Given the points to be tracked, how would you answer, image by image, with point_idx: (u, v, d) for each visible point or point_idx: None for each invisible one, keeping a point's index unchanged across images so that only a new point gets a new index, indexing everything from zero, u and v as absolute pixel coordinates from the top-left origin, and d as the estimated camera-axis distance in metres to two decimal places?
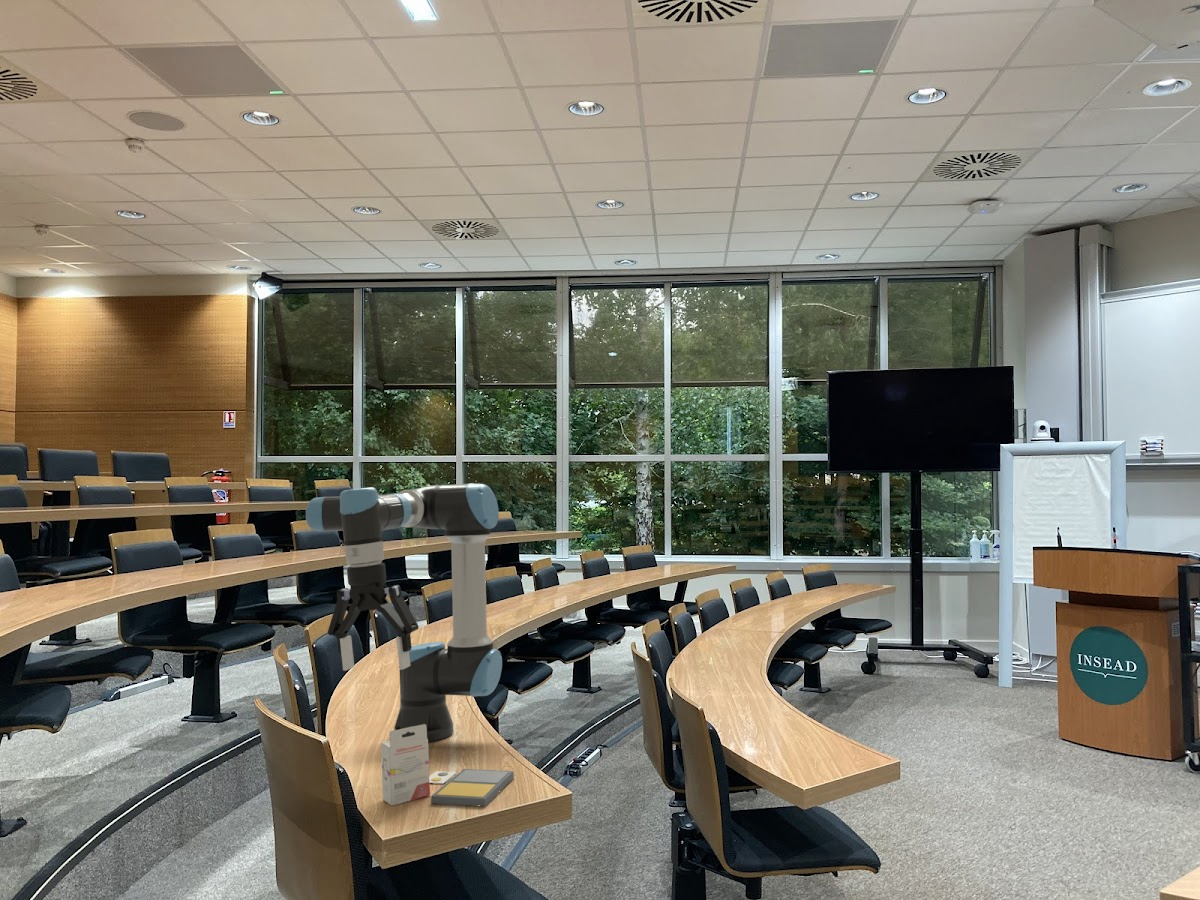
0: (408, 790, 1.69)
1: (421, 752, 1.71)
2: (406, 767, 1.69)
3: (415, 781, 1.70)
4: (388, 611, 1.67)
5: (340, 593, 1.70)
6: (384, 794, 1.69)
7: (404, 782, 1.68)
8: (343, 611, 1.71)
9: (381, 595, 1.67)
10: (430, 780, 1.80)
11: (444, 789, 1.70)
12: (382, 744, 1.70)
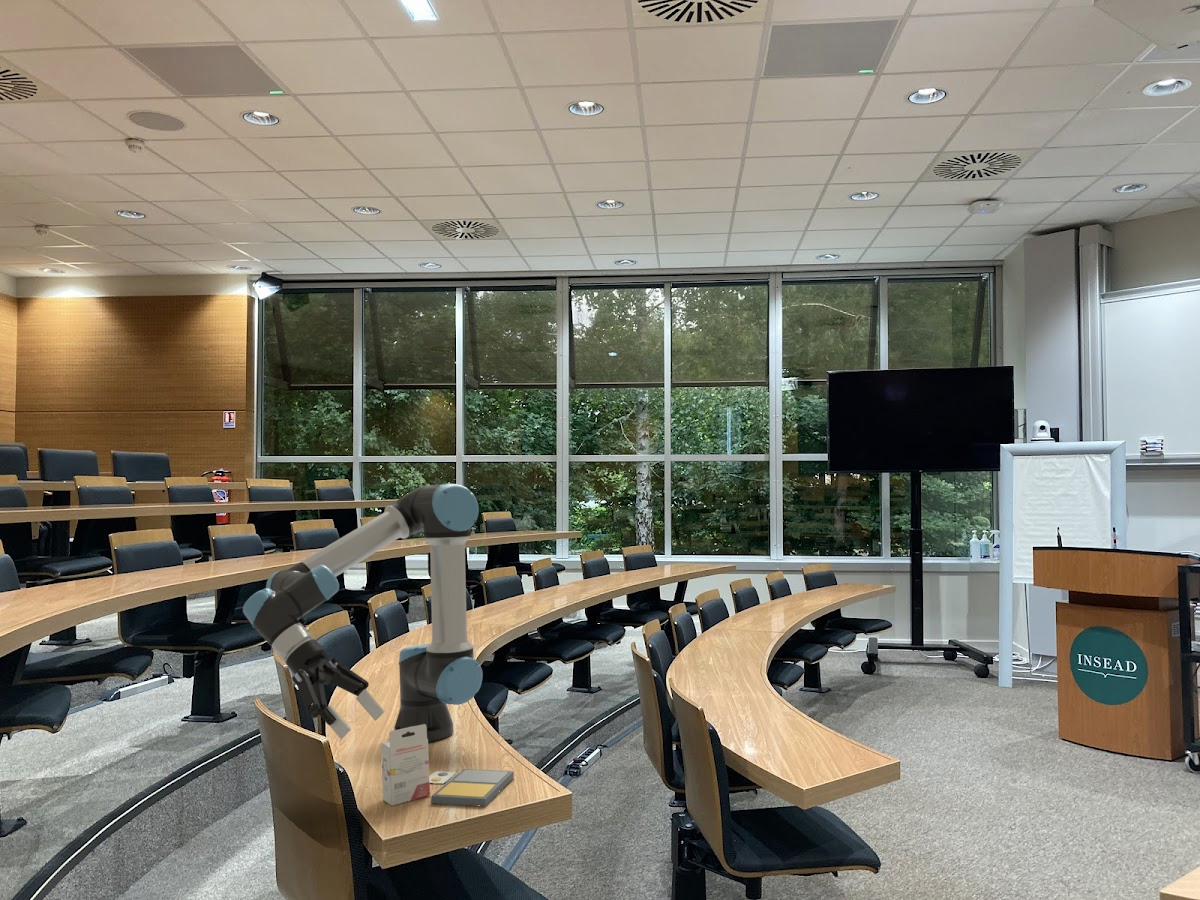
0: (408, 790, 1.69)
1: (421, 752, 1.71)
2: (406, 767, 1.69)
3: (415, 781, 1.70)
4: None
5: None
6: (384, 794, 1.69)
7: (404, 782, 1.68)
8: (345, 675, 1.82)
9: None
10: (430, 780, 1.80)
11: (444, 789, 1.70)
12: (382, 744, 1.70)
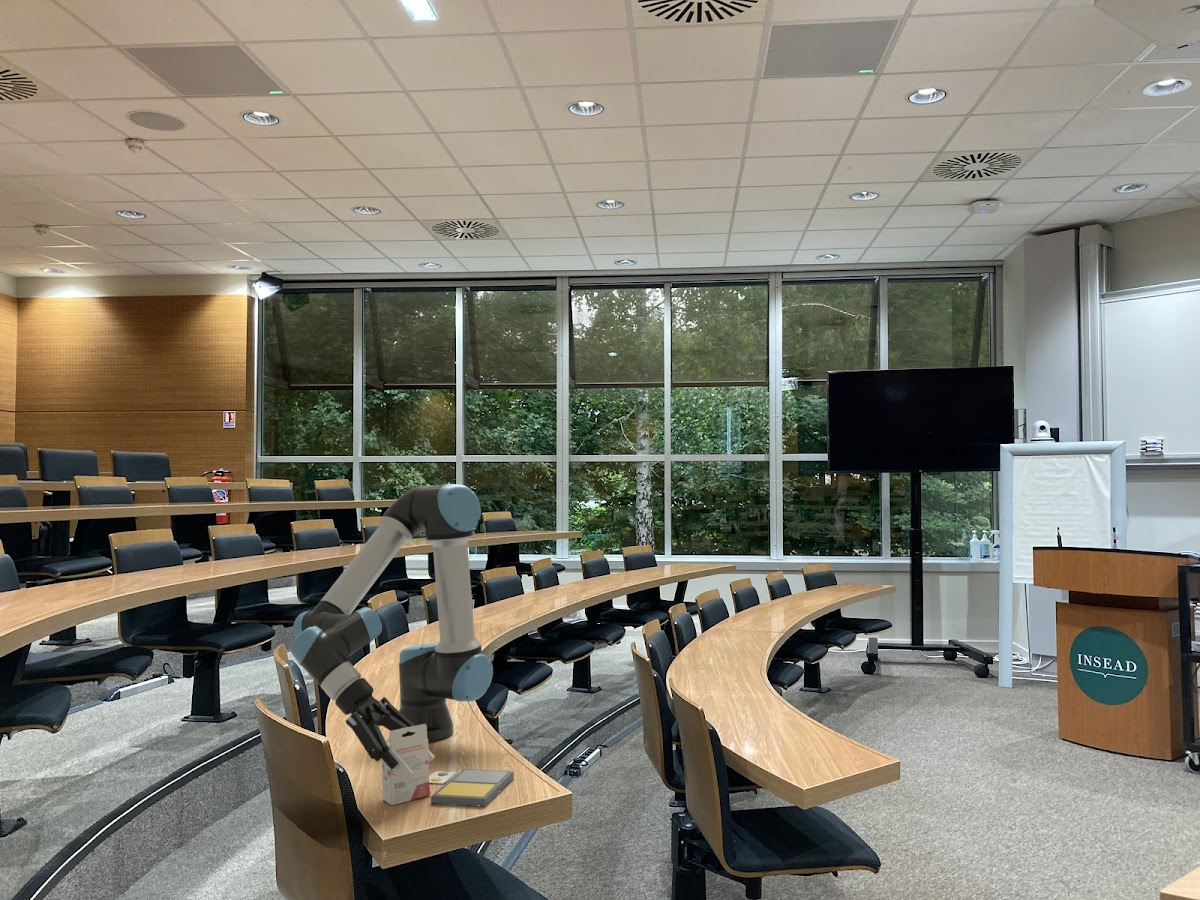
0: (409, 789, 1.69)
1: (421, 752, 1.71)
2: None
3: (415, 780, 1.70)
4: None
5: None
6: (384, 794, 1.69)
7: (404, 782, 1.68)
8: (394, 716, 1.79)
9: None
10: (430, 780, 1.80)
11: (444, 789, 1.70)
12: None
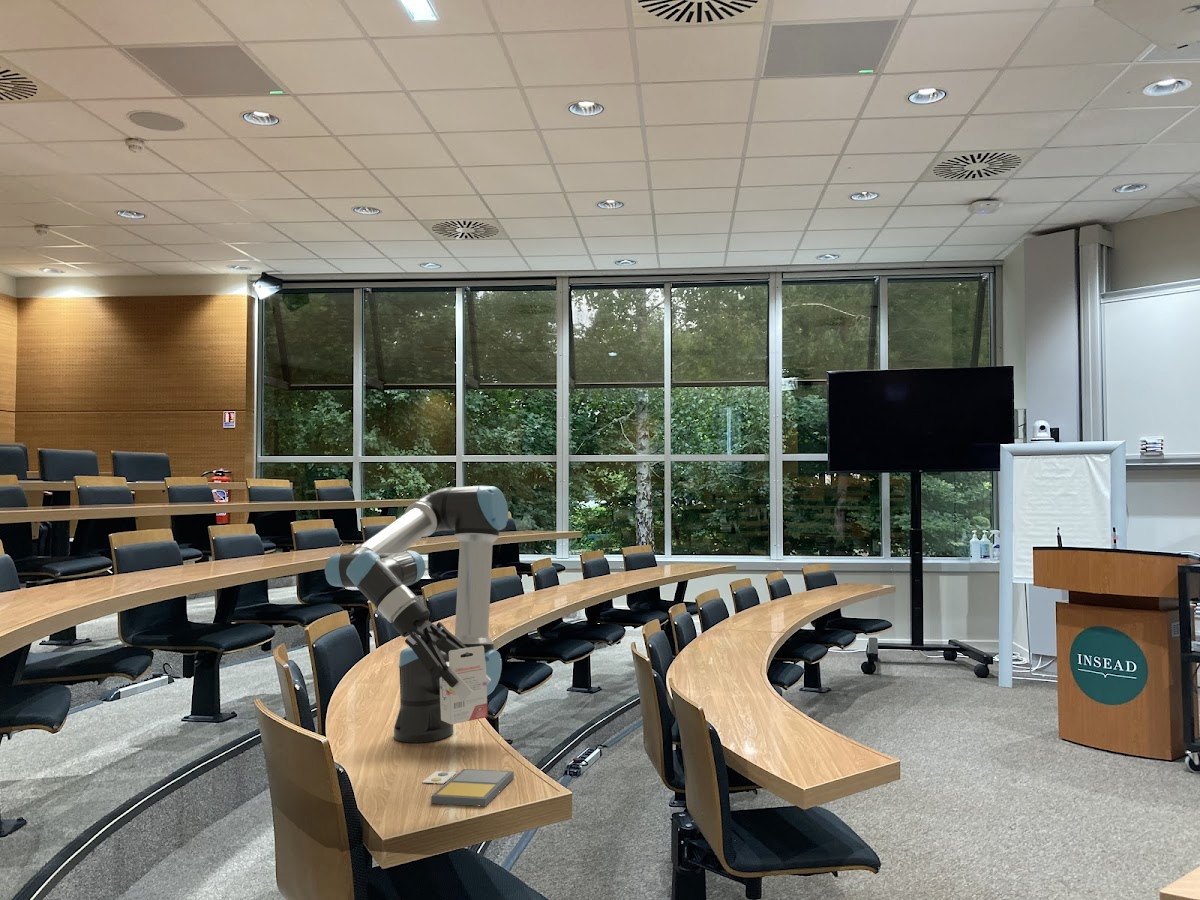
0: (467, 710, 1.69)
1: (479, 673, 1.71)
2: None
3: (473, 701, 1.70)
4: None
5: None
6: (442, 714, 1.69)
7: (462, 702, 1.68)
8: (449, 641, 1.79)
9: None
10: (430, 780, 1.80)
11: (444, 789, 1.70)
12: None
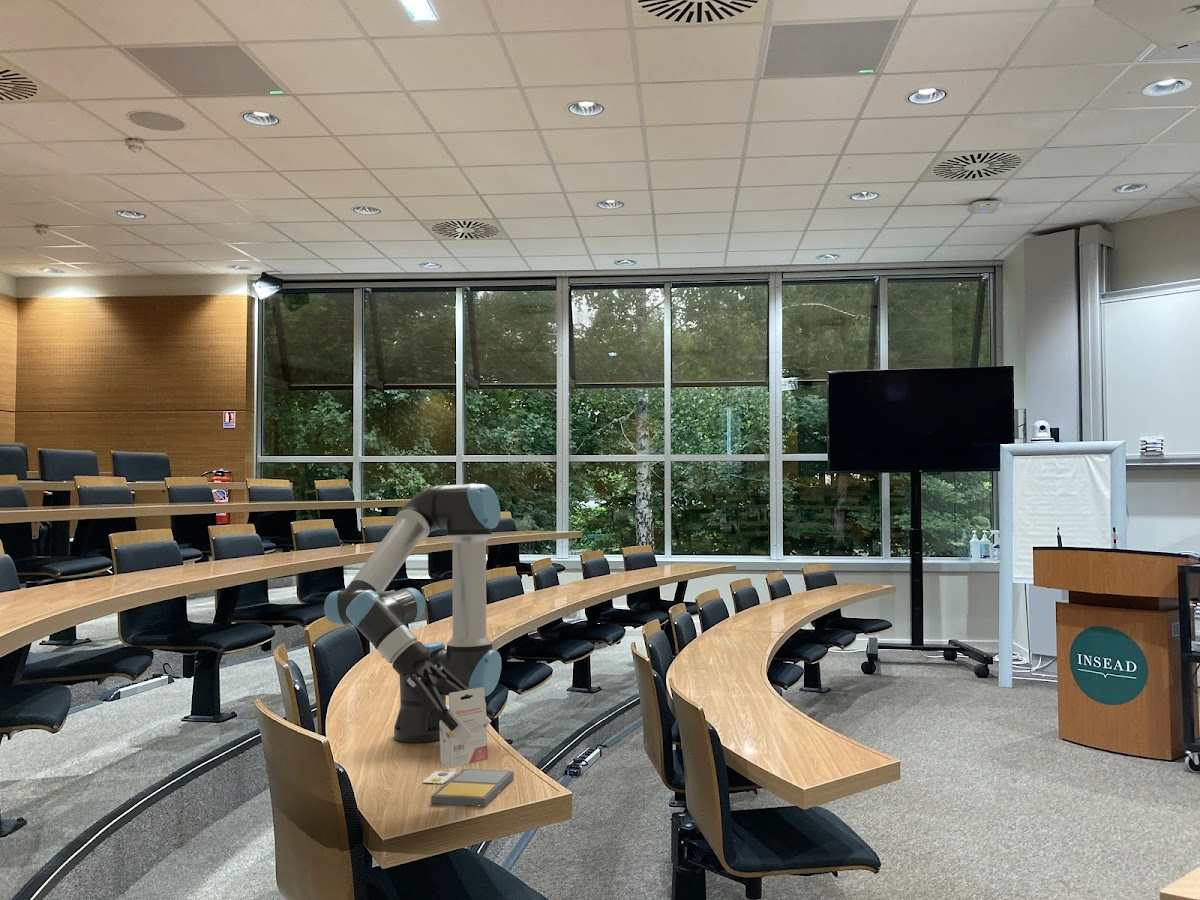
0: (467, 752, 1.68)
1: (479, 715, 1.70)
2: None
3: (473, 744, 1.69)
4: None
5: None
6: (442, 757, 1.68)
7: (462, 745, 1.67)
8: (449, 681, 1.78)
9: None
10: (430, 780, 1.80)
11: (444, 789, 1.70)
12: None
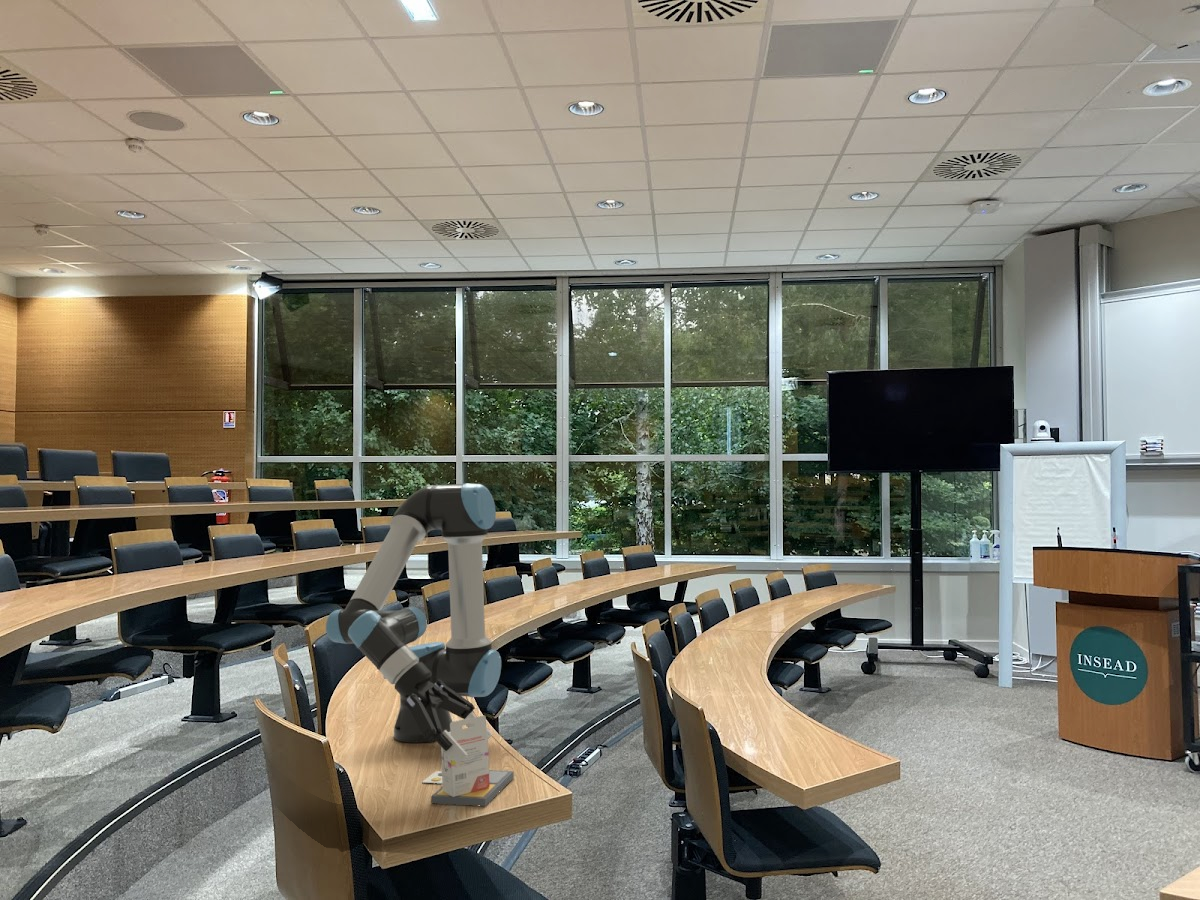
0: (469, 781, 1.68)
1: (481, 744, 1.70)
2: (467, 758, 1.68)
3: (475, 772, 1.69)
4: None
5: None
6: (444, 785, 1.68)
7: (464, 774, 1.67)
8: (451, 697, 1.79)
9: None
10: (430, 780, 1.80)
11: None
12: None
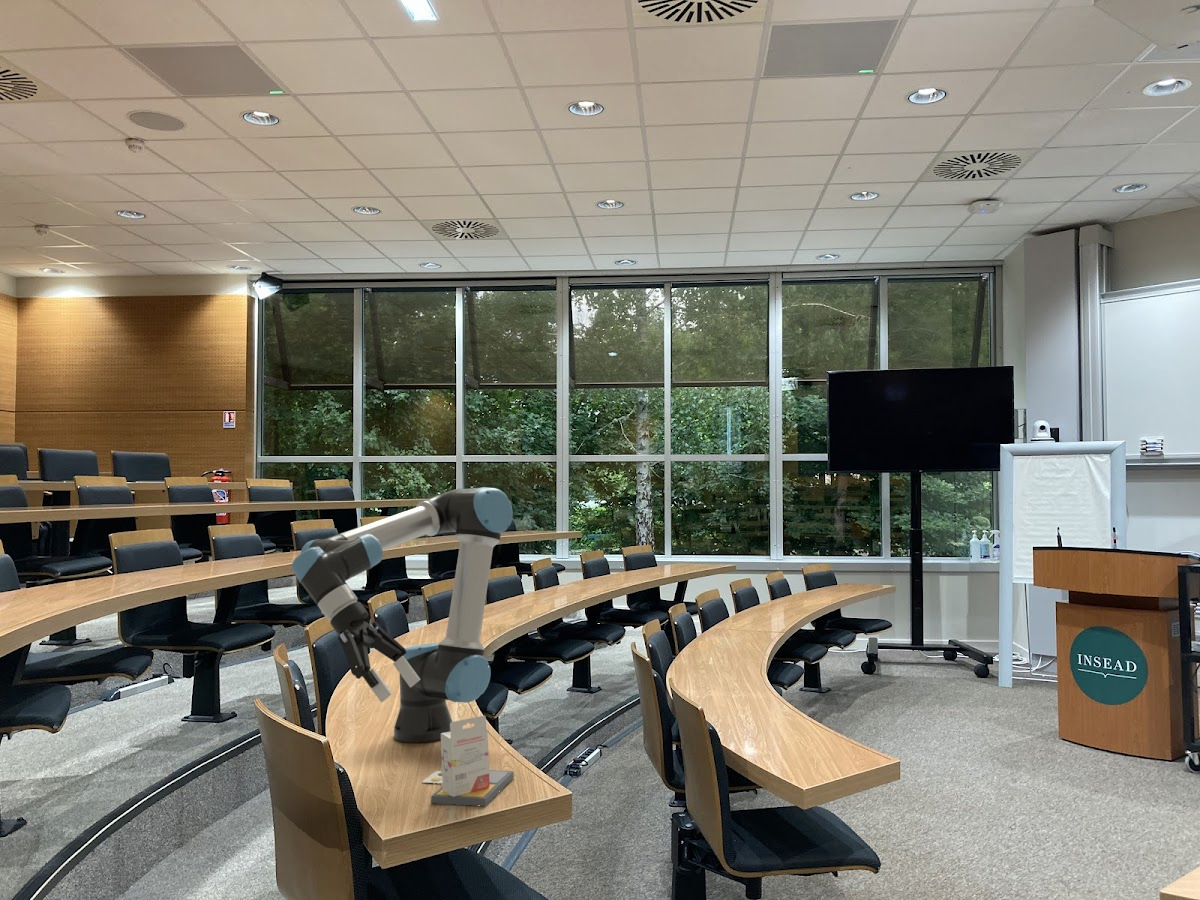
0: (469, 781, 1.68)
1: (481, 744, 1.70)
2: (467, 758, 1.68)
3: (475, 772, 1.69)
4: None
5: None
6: (444, 785, 1.68)
7: (464, 774, 1.67)
8: (384, 640, 1.85)
9: None
10: (430, 780, 1.80)
11: None
12: (442, 735, 1.69)
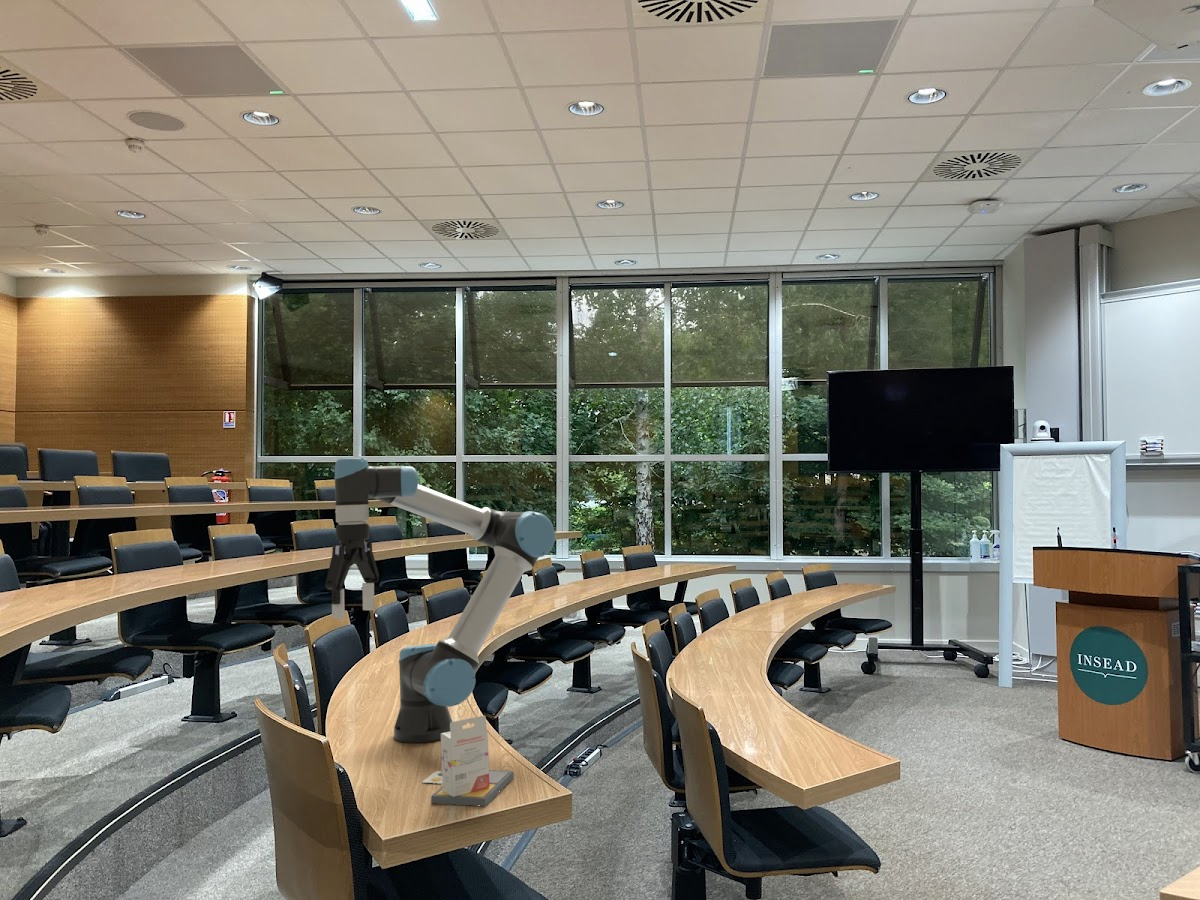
0: (469, 781, 1.68)
1: (481, 744, 1.70)
2: (467, 758, 1.68)
3: (475, 772, 1.69)
4: None
5: None
6: (444, 785, 1.68)
7: (464, 774, 1.67)
8: (368, 561, 2.03)
9: None
10: (430, 780, 1.80)
11: None
12: (442, 735, 1.69)
